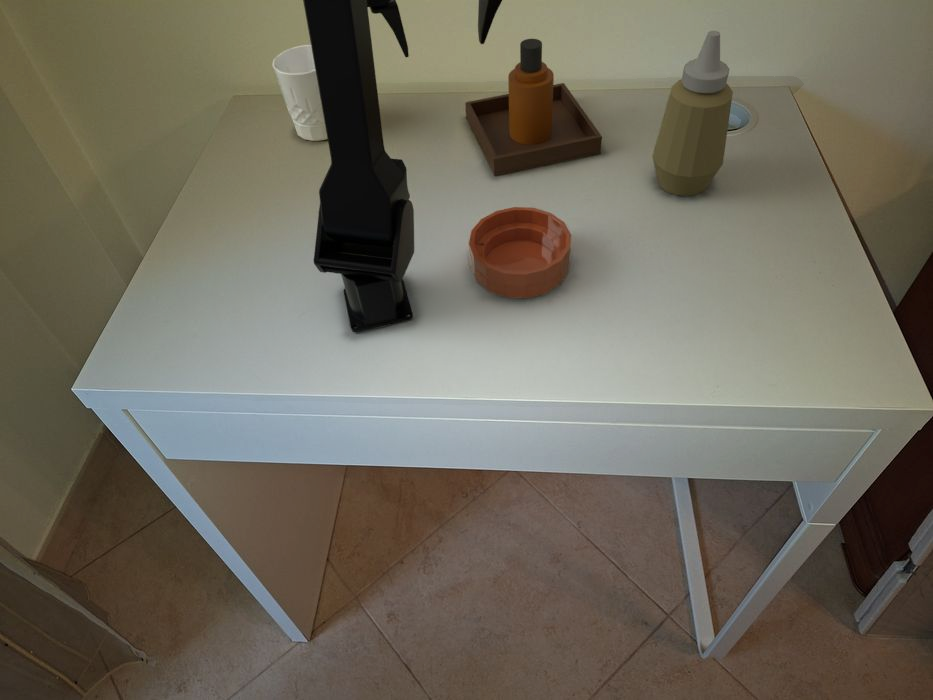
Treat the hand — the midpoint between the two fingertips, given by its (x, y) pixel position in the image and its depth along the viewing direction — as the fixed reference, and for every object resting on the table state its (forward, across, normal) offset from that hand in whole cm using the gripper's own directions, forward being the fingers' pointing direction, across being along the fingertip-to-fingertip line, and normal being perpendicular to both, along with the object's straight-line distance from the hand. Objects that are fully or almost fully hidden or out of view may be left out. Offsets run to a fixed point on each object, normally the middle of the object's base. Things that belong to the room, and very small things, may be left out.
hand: (444, 49), depth 81 cm
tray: (+13, -10, +2) cm, 16 cm away
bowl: (+13, -2, +26) cm, 29 cm away
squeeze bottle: (+13, -25, +17) cm, 33 cm away
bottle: (+12, -10, +2) cm, 16 cm away
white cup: (+13, +17, -10) cm, 23 cm away
